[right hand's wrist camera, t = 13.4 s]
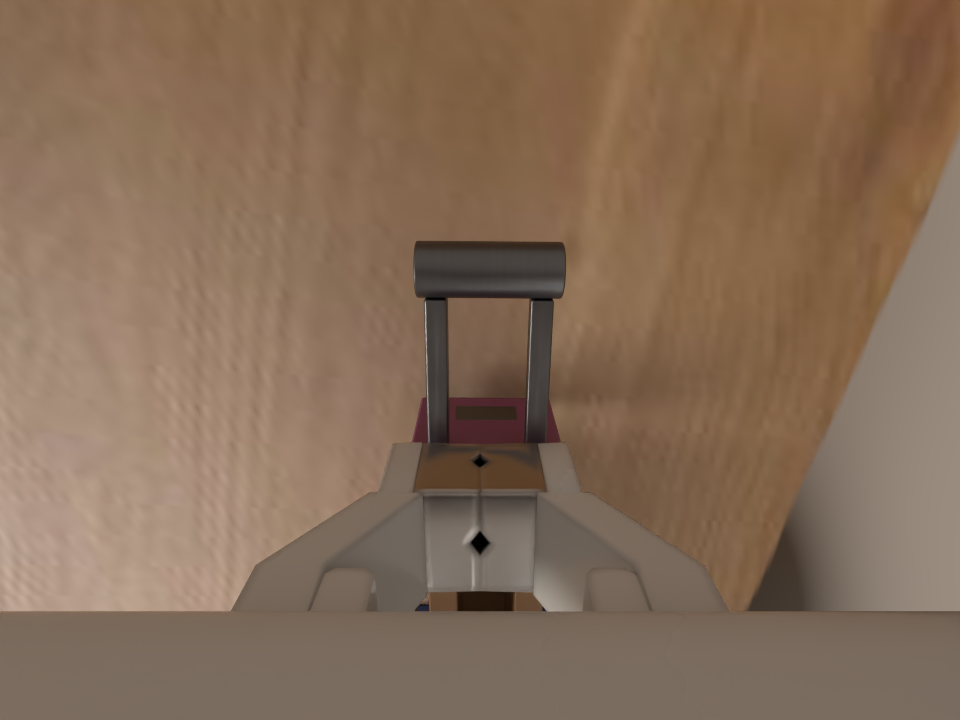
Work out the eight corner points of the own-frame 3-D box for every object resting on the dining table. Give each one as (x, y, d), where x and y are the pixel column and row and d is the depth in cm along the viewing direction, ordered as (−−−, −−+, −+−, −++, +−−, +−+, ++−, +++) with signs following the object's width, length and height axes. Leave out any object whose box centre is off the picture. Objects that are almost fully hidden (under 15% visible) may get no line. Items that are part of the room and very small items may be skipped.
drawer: (416, 223, 18) (389, 257, 13) (558, 224, 18) (593, 259, 13) (432, 755, 26) (420, 913, 21) (529, 755, 26) (542, 914, 21)
